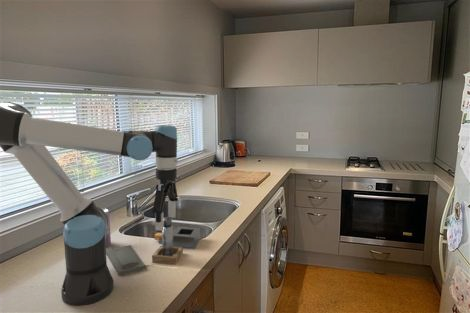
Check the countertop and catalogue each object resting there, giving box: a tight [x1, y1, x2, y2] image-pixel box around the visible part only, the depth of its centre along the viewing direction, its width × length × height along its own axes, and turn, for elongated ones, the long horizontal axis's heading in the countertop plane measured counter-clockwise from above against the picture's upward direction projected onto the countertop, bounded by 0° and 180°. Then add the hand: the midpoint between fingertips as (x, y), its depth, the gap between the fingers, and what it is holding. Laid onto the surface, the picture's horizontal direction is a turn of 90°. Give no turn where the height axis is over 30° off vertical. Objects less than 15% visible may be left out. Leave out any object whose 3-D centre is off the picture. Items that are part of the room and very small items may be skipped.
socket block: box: [158, 226, 201, 250], centre depth 139 cm, size 10×16×6 cm, turn 82°
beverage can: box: [102, 208, 112, 248], centre depth 136 cm, size 6×6×15 cm
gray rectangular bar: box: [161, 216, 174, 256], centre depth 124 cm, size 4×4×16 cm
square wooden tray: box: [151, 245, 184, 265], centre depth 125 cm, size 9×9×4 cm
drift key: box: [154, 232, 162, 241], centre depth 139 cm, size 3×7×2 cm, turn 82°
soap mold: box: [106, 244, 147, 277], centre depth 124 cm, size 10×20×4 cm, turn 32°
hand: (165, 223), depth 123 cm, fingers open, 13 cm apart
